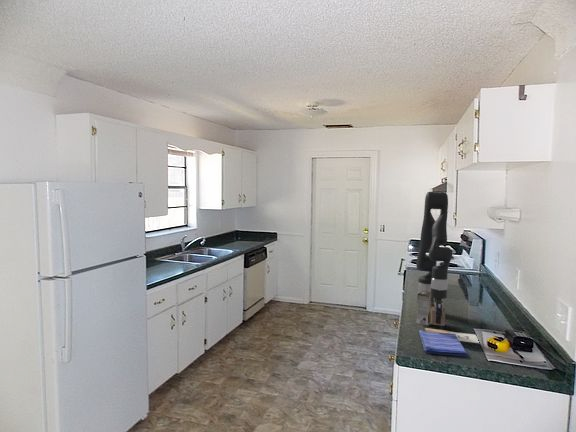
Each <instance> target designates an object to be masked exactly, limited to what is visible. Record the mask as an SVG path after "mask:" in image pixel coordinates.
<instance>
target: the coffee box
mask: <svg viewBox="0 0 576 432" xmlns="http://www.w3.org/2000/svg"><path fill="white" fill-rule="evenodd" d="M434 300H435V298H433V297H431V292H428V291H422V292H420V293H418V292H417V301H416V302H417V303H416V324H417V325H424V326H427V327H428V326H431V325H432V324H431V307H434Z"/></svg>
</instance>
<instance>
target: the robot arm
mask: <svg viewBox="0 0 576 432" xmlns="http://www.w3.org/2000/svg"><path fill="white" fill-rule="evenodd" d="M423 209H424V212H423V220H422V226H421V233H420V241H419V248H418V254H417V257H416V269H417V270H418V271H421V272H428V273H426V274H425V275H421V276H419V277H418V283H417V284H418V285H417V294H418V293H420V292H422V291H428V292H431V297H433V298H435V300H434V308H435V311H436V324H441V316H442V310H443V308H444V307H443V306H444V301H443V299H447V298H448V285H449V284H448V271H449V267H450V264H451V260H452V257H453V251H452V249H451V247H449V246H448V247H446V246H443V245H446V244H447V242H448V233H447V227H448V224H447V222H448V209H449V196H448V193H447V192H444V191H427V192H426V194H425V198H424V207H423ZM432 210H440V214H439V216H438V217H437V218H436V220H435V218H434V217H433V215H432ZM428 251H429V252H428ZM427 253H428V255H427ZM437 262H442V264H439V265H437ZM438 311H440V313H437V312H438Z"/></svg>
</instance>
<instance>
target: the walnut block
mask: <svg viewBox="0 0 576 432" xmlns="http://www.w3.org/2000/svg"><path fill="white" fill-rule="evenodd" d="M437 313H440V311H438V312H437ZM430 325H435V326H441V327H442V326H443V327H444V326H445V325H446V309H445V308H444V307H443V310H442V316H441V324H436V311H435V308H434V307H431V324H430Z"/></svg>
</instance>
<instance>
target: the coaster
mask: <svg viewBox="0 0 576 432" xmlns="http://www.w3.org/2000/svg"><path fill="white" fill-rule="evenodd" d="M424 331H427V332H432V333H449V334H450V331H449V330H447V329H446V330H444V329H439V328H438V329H437V328H429V327H428V328H427V327H424Z"/></svg>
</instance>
